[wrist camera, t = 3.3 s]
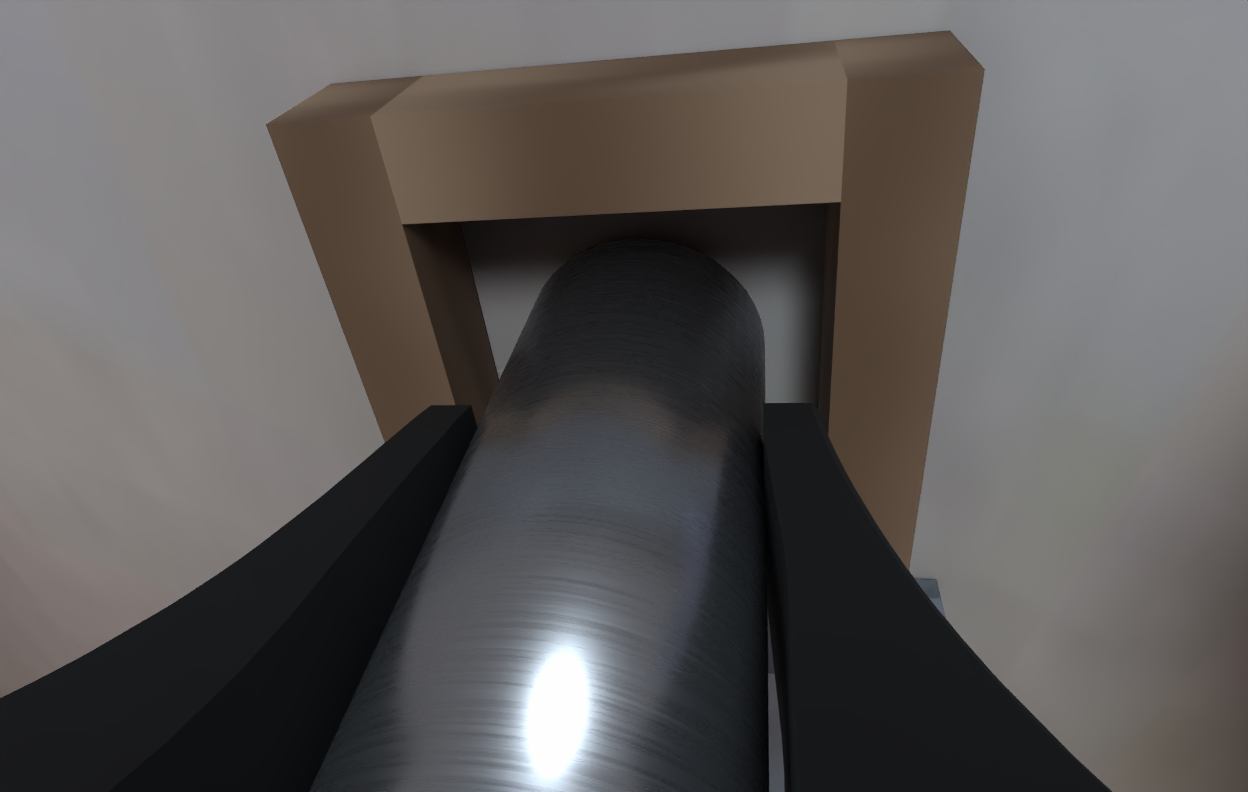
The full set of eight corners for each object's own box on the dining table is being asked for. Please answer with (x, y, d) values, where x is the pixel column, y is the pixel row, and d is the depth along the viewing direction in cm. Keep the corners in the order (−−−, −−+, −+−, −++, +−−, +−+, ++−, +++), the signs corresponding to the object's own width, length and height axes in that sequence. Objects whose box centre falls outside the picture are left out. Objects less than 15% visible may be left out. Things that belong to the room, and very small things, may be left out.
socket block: (949, 30, 10) (984, 68, 9) (889, 514, 16) (905, 593, 14) (331, 84, 12) (265, 123, 10) (465, 507, 17) (435, 577, 16)
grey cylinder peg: (764, 233, 12) (771, 881, 5) (765, 438, 14) (771, 1080, 7) (510, 244, 12) (172, 820, 5) (551, 438, 15) (355, 1020, 8)
